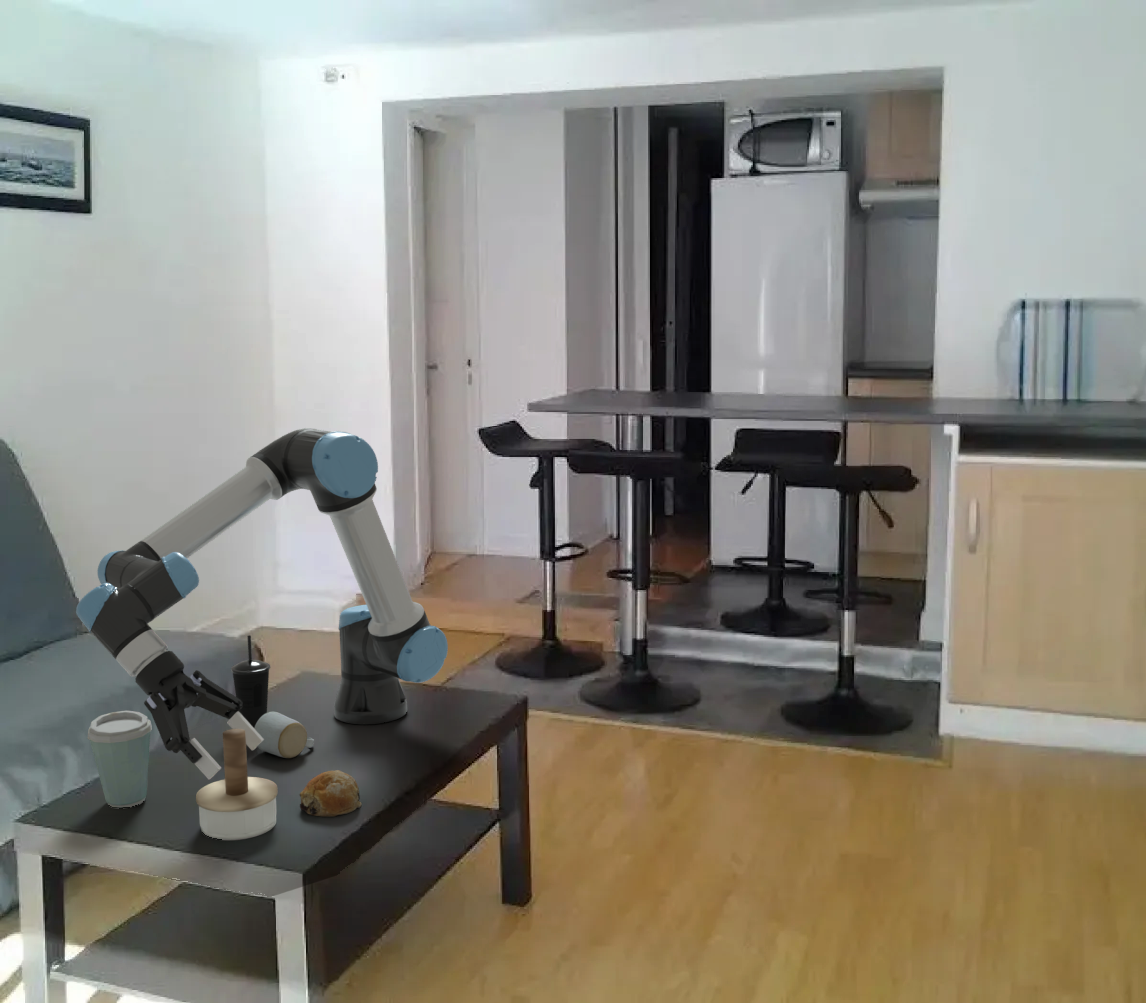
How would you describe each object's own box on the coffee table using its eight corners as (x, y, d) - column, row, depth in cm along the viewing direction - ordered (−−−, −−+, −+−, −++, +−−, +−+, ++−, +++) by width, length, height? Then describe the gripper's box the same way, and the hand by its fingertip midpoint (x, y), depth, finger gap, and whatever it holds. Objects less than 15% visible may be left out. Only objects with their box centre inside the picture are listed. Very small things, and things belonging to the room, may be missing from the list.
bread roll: (354, 836, 214) (373, 793, 214) (297, 818, 211) (316, 774, 211) (347, 813, 224) (365, 772, 224) (292, 796, 220) (310, 754, 220)
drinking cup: (279, 727, 258) (275, 631, 255) (264, 739, 251) (259, 641, 248) (244, 725, 260) (239, 630, 256) (227, 737, 252) (222, 640, 249)
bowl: (256, 804, 218) (255, 777, 218) (288, 826, 209) (287, 798, 208) (189, 823, 211) (187, 794, 210) (219, 846, 202) (218, 817, 201)
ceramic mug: (280, 764, 237) (279, 725, 236) (252, 755, 243) (251, 716, 241) (324, 749, 246) (323, 711, 245) (296, 740, 251) (295, 703, 250)
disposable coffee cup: (164, 805, 218) (159, 722, 216) (99, 819, 213) (93, 733, 211) (148, 786, 227) (143, 705, 225) (85, 798, 222) (80, 716, 219)
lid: (256, 775, 218) (253, 714, 217) (291, 797, 209) (288, 733, 207) (183, 794, 210) (179, 730, 209) (216, 818, 200) (212, 752, 199)
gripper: (180, 658, 223) (261, 747, 221) (91, 701, 199) (181, 801, 197) (205, 630, 220) (287, 720, 219) (119, 671, 197) (210, 772, 195)
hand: (237, 759), depth 208 cm, fingers open, 13 cm apart
